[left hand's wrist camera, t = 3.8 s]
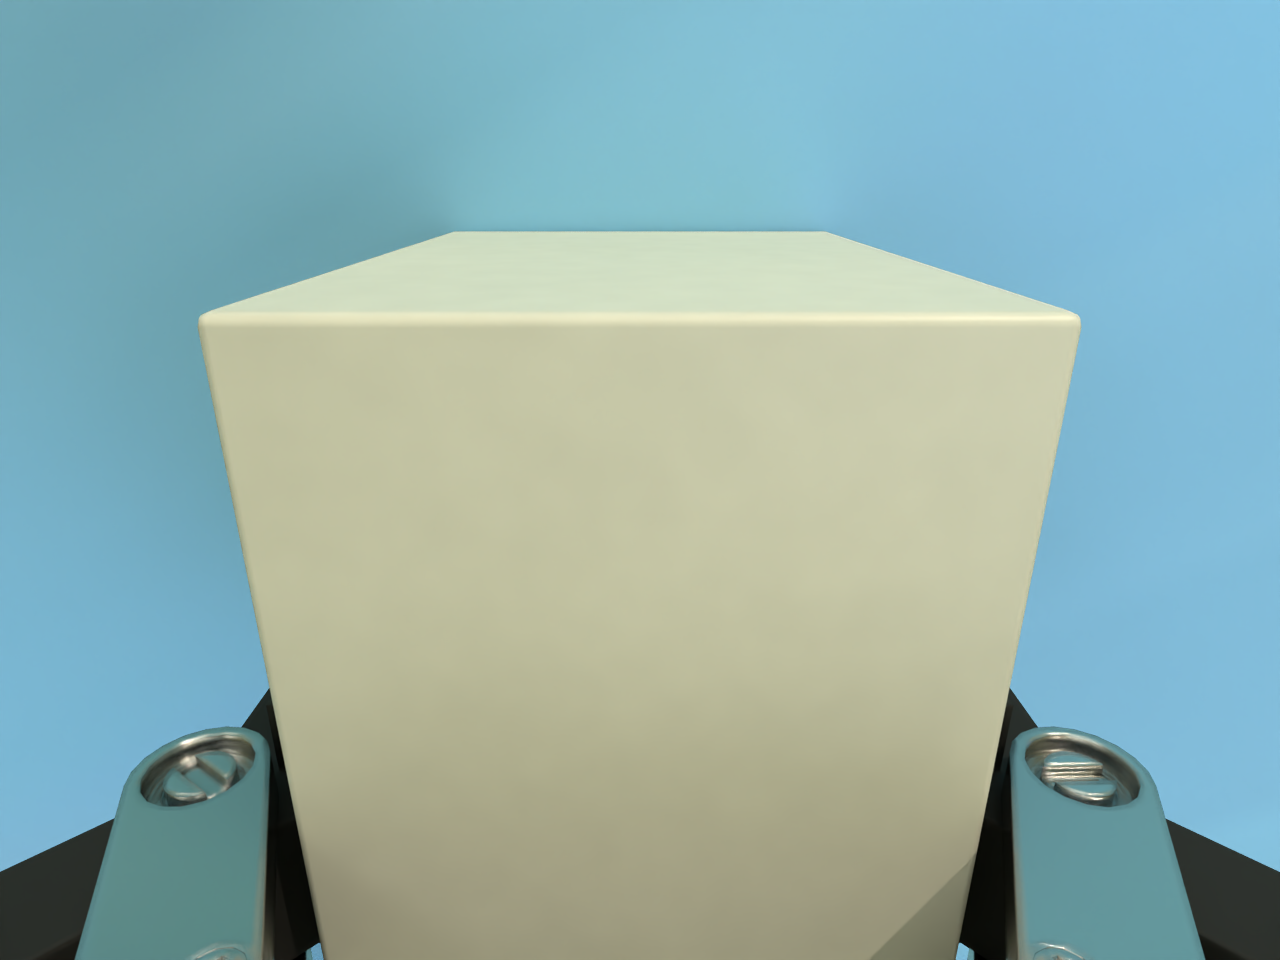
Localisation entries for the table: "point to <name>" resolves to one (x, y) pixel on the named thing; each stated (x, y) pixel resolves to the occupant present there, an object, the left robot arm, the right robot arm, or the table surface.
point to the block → (639, 586)
